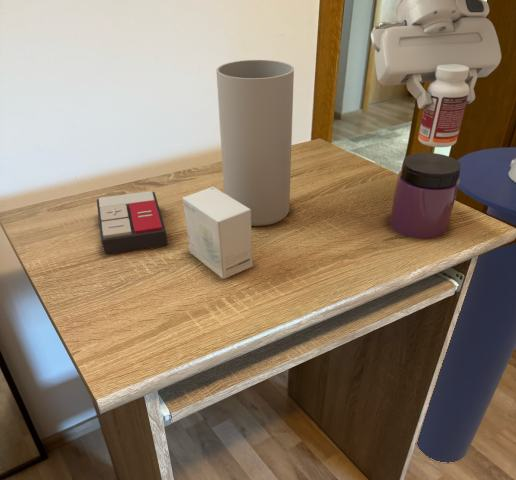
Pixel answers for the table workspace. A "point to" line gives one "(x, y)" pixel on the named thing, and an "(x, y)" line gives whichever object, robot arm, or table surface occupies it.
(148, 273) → the table surface
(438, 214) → the jar
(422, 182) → the jar lid
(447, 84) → the pill bottle
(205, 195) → the cosmetics box
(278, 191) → the cylinder vase
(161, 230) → the calculator
